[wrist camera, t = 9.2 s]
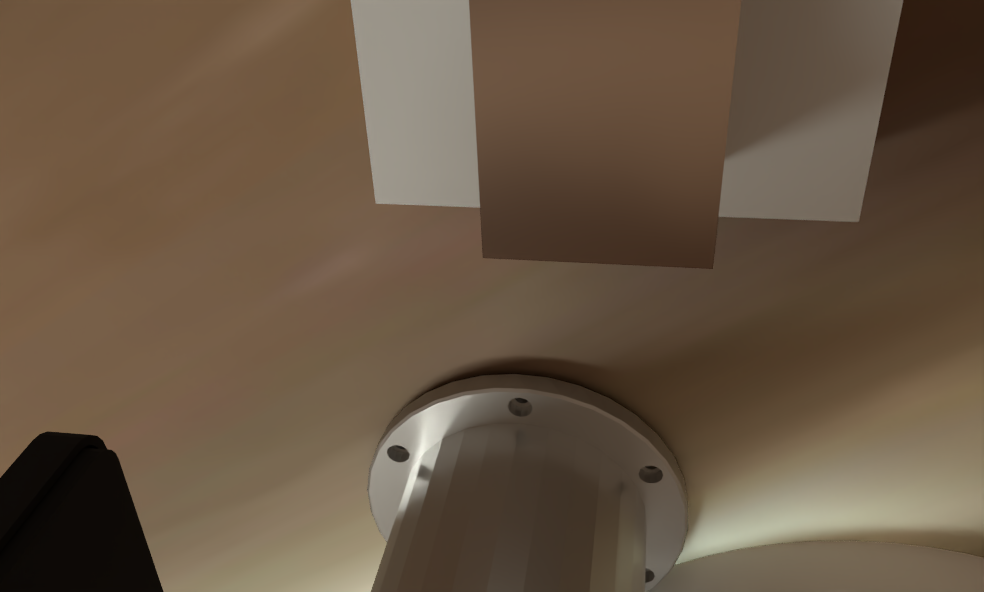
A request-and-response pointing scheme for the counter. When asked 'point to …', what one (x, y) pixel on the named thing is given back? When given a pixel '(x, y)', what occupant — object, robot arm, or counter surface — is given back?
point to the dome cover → (829, 569)
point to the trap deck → (752, 118)
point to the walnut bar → (602, 128)
